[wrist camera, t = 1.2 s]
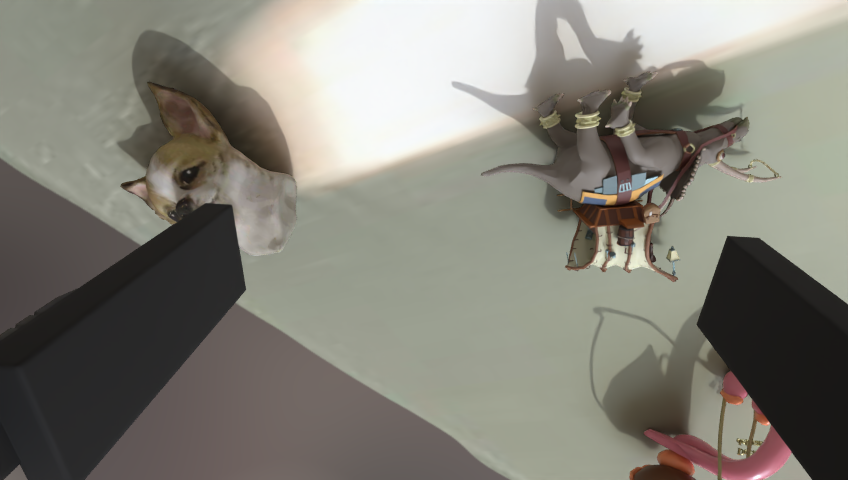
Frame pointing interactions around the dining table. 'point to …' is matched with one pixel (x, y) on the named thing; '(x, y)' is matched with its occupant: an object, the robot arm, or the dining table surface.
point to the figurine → (625, 175)
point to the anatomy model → (688, 449)
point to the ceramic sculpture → (214, 177)
